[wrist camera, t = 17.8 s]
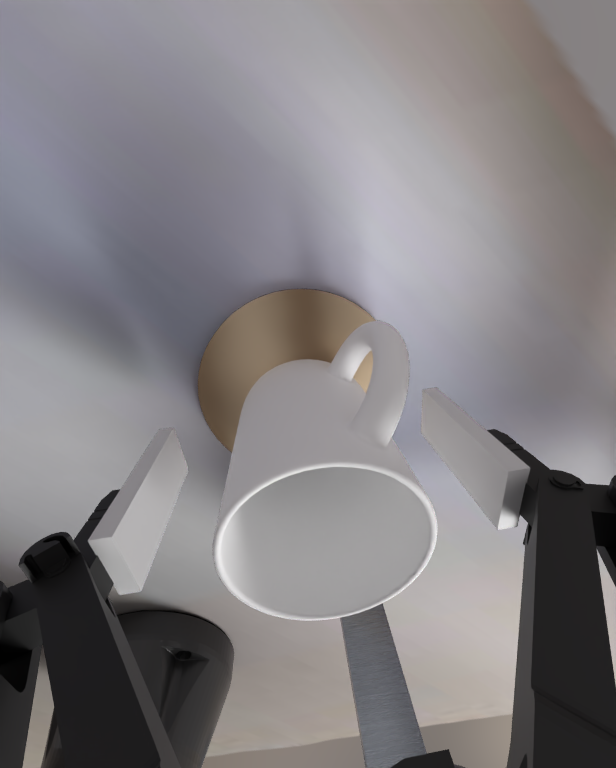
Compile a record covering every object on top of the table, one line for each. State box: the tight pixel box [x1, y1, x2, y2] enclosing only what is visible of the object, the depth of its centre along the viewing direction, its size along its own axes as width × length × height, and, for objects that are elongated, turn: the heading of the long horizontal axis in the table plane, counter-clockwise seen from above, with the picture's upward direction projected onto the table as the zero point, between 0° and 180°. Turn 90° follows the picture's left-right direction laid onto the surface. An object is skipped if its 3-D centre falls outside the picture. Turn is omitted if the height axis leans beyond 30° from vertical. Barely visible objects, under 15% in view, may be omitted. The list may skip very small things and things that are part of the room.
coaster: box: [198, 289, 376, 452], centre depth 20 cm, size 13×13×1 cm
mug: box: [213, 321, 437, 621], centre depth 15 cm, size 12×8×10 cm
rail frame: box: [340, 603, 427, 768], centre depth 21 cm, size 35×6×16 cm, turn 97°
